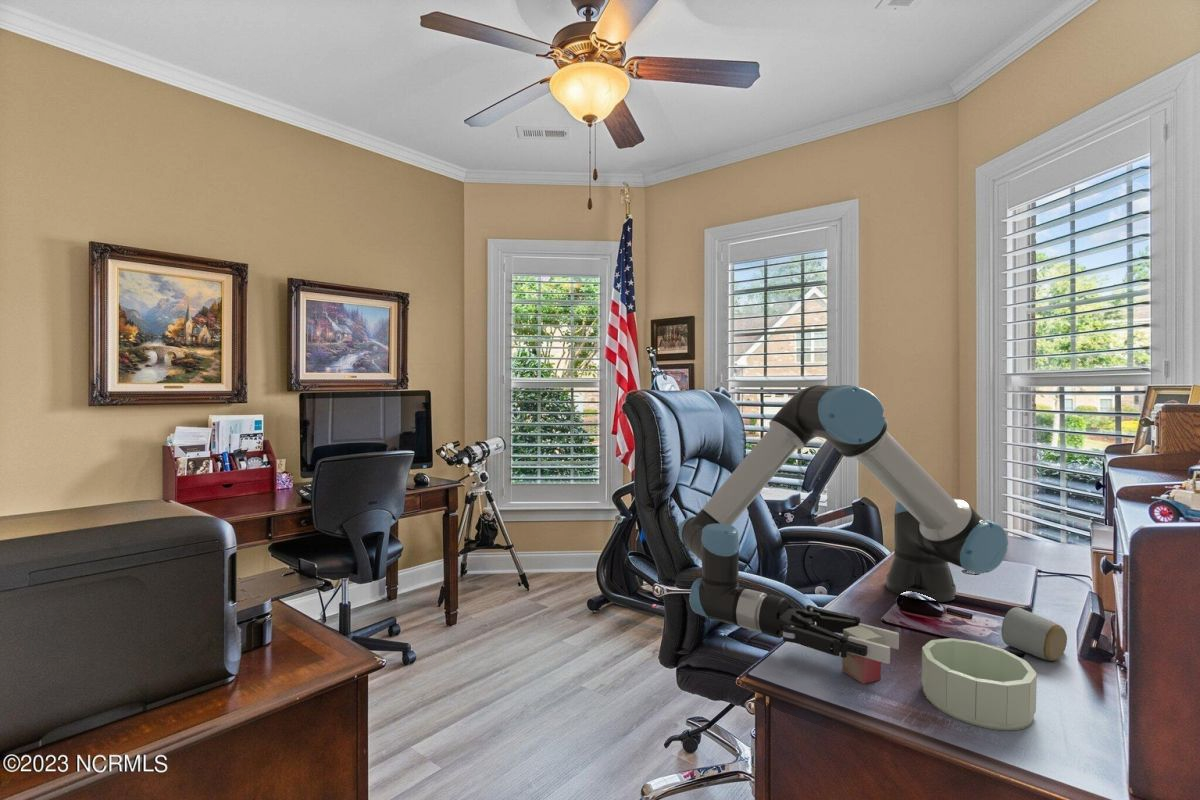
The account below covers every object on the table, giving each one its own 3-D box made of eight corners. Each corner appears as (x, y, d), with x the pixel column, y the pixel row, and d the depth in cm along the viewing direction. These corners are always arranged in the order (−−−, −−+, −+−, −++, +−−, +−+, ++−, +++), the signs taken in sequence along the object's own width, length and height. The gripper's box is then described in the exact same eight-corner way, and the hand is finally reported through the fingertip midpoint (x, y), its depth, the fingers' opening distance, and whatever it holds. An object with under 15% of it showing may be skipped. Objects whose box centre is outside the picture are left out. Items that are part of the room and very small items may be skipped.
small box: (841, 671, 102) (841, 628, 102) (859, 666, 104) (859, 624, 104) (863, 685, 98) (864, 640, 97) (882, 680, 99) (882, 635, 99)
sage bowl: (902, 682, 98) (903, 643, 98) (976, 673, 101) (977, 635, 101) (975, 736, 84) (976, 689, 83) (1059, 724, 86) (1060, 679, 86)
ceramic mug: (1047, 667, 103) (1048, 626, 103) (999, 648, 111) (1000, 609, 110) (1078, 656, 108) (1079, 616, 108) (1030, 638, 115) (1031, 601, 115)
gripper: (782, 616, 119) (905, 649, 105) (743, 650, 105) (880, 693, 90) (783, 581, 119) (906, 609, 104) (744, 610, 104) (880, 647, 90)
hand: (893, 648), depth 97 cm, fingers closed on small box, 6 cm apart
